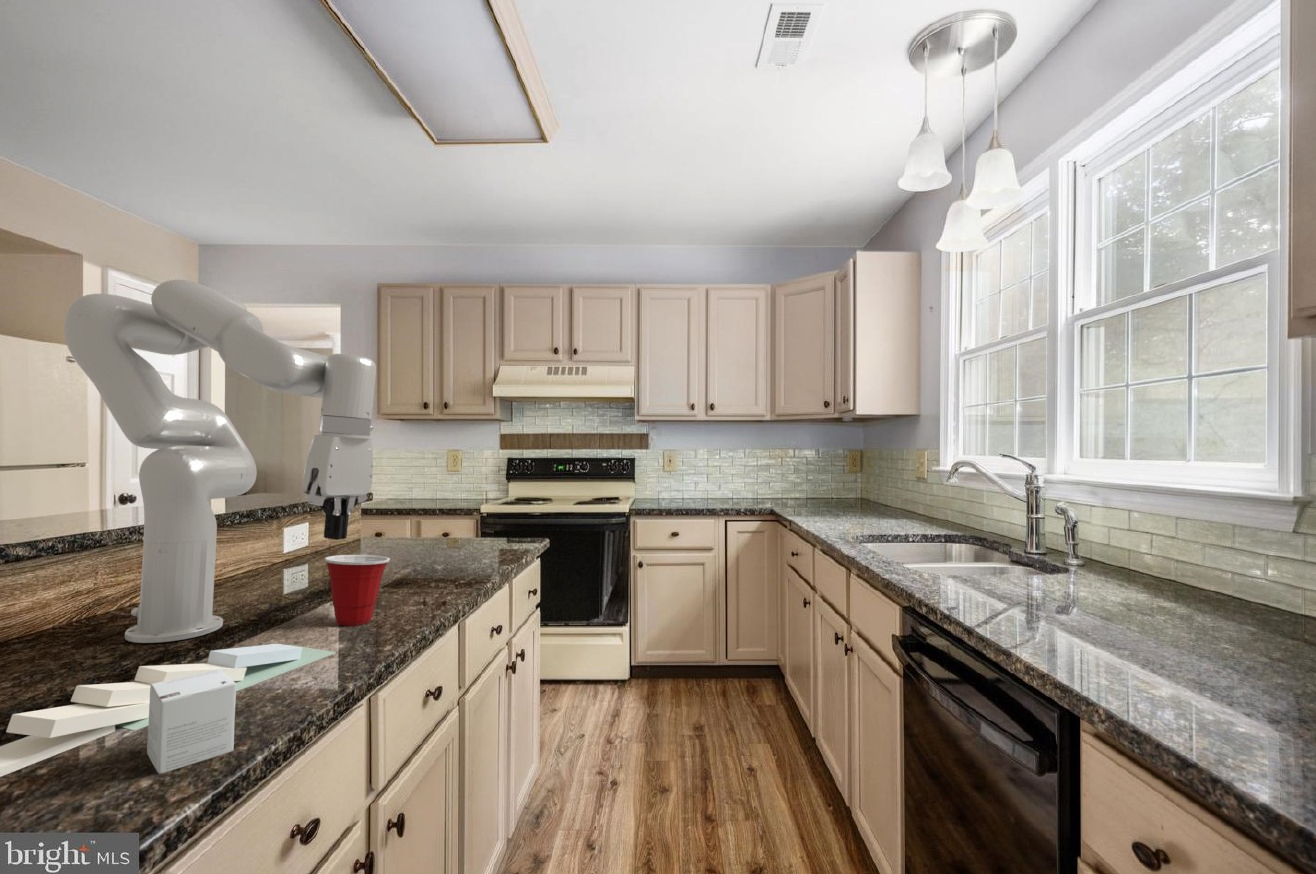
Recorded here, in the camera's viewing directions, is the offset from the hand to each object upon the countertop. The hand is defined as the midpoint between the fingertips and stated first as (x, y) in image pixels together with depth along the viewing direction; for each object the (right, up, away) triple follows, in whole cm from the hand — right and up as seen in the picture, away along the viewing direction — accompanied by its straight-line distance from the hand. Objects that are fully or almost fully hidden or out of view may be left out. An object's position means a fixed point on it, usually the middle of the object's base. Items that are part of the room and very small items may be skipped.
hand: (335, 538), depth 93 cm
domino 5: (-2, -16, -9) cm, 18 cm away
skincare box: (+6, -16, -36) cm, 40 cm away
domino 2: (-8, -15, -32) cm, 36 cm away
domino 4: (-4, -15, -17) cm, 23 cm away
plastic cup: (-2, -18, +10) cm, 21 cm away
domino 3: (-6, -15, -23) cm, 28 cm away
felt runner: (-5, -16, -18) cm, 24 cm away
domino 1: (-7, -15, -29) cm, 33 cm away
